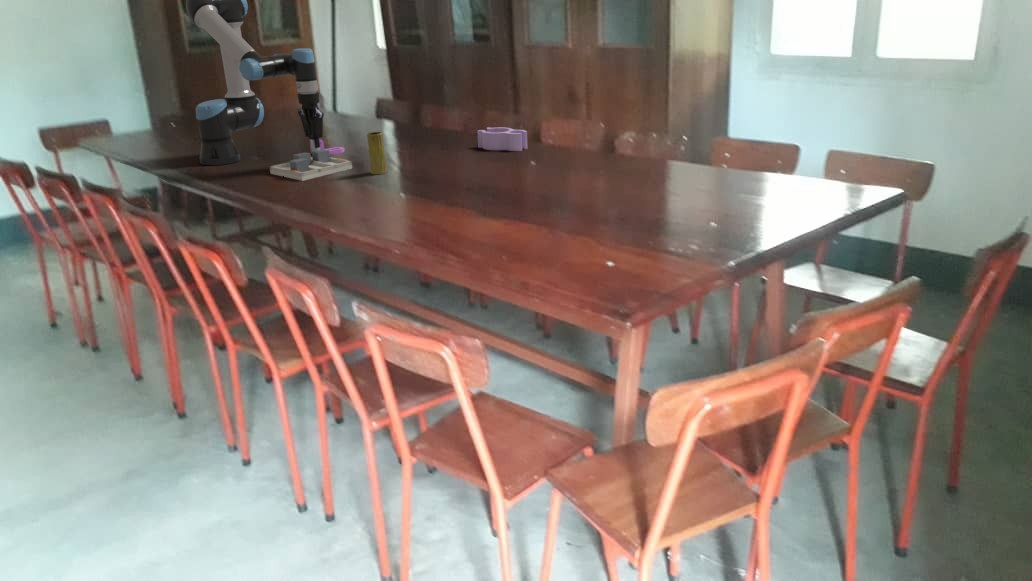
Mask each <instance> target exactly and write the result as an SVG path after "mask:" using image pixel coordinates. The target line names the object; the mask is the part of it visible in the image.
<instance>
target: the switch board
mask: <svg viewBox="0 0 1032 581" xmlns="http://www.w3.org/2000/svg"><path fill="white" fill-rule="evenodd" d="M311 161H312V164H310V165H309V171H305V172H300V171H296V170H291V168H290V162H289V161H287V162H284V163H278V164H273V165H270V166H269V172H270V174H271V175H275V176H279V177H283V176H284V177H283V178H288V179H293V180H297V181H301V182H302V181H303V182H304V181H307V180H312V179H316V178H320V177H324V176H327V175H332V174H335V173H340V172H344V171H347V170H351V169H353V162H352V161H351V160H348V159H345V158H344V159H343V158H340V157H339V158H335V157H331V156H330V161H328V162H318V161H316V160H313V159H312V156H311Z"/></svg>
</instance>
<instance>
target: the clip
mask: <svg viewBox="0 0 1032 581" xmlns="http://www.w3.org/2000/svg"><path fill="white" fill-rule="evenodd" d="M477 144H478V145H477V146H478V148H481V149H484V150H486V151H510V152H522V151H523V149H524V150H528V131H527V130H524V129H513V128H511V127H504V126H503V127H501V126H499V127H486V130H485V129H479V130H477Z"/></svg>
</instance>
